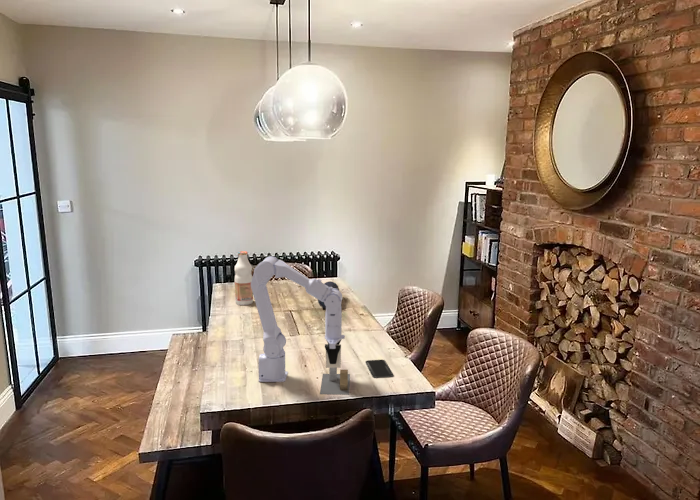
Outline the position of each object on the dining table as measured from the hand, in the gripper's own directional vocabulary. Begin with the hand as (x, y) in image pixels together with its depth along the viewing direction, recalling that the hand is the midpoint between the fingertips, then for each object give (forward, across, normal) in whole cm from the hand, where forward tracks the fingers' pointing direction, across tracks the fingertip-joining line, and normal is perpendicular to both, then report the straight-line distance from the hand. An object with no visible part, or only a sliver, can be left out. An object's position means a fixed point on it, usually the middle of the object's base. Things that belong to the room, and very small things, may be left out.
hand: (333, 360), depth 179 cm
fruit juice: (+8, +92, +52) cm, 106 cm away
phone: (+8, +10, -17) cm, 21 cm away
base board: (+8, -4, -1) cm, 9 cm away
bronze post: (+7, -7, -4) cm, 11 cm away
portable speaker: (+8, +94, +7) cm, 94 cm away
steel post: (+7, 0, 0) cm, 7 cm away
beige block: (+2, 0, 0) cm, 2 cm away
